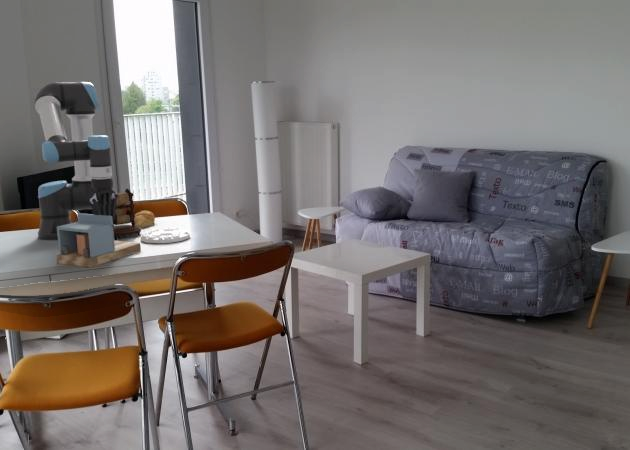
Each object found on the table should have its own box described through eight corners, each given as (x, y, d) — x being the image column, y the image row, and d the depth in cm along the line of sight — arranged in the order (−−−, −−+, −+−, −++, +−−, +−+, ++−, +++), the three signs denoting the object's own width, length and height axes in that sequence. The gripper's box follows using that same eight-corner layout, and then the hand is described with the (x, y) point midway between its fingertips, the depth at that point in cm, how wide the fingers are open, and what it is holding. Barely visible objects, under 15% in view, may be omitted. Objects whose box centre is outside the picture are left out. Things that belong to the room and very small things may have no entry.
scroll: (132, 230, 281) (128, 185, 277) (147, 235, 270) (144, 189, 266) (99, 235, 271) (95, 189, 267) (114, 241, 260) (110, 193, 256)
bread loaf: (145, 236, 284) (153, 221, 283) (125, 227, 283) (132, 211, 281) (155, 226, 305) (161, 211, 303) (135, 217, 303) (142, 202, 302)
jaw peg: (87, 259, 232) (85, 232, 230) (95, 260, 230) (93, 233, 228) (78, 261, 228) (76, 234, 226) (86, 262, 226) (84, 235, 224)
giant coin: (178, 245, 252) (177, 238, 251) (132, 244, 256) (131, 237, 255) (196, 234, 271) (196, 228, 271) (154, 233, 275) (153, 226, 274)
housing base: (56, 262, 227) (55, 246, 226) (109, 247, 250) (108, 232, 248) (90, 267, 220) (88, 250, 219) (140, 250, 243) (139, 235, 242)
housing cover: (59, 253, 227) (55, 218, 225) (82, 246, 237) (79, 213, 235) (92, 257, 221) (89, 221, 218) (115, 250, 230) (112, 216, 228)
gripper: (96, 180, 225) (102, 244, 230) (122, 176, 237) (126, 237, 241) (80, 179, 228) (86, 243, 233) (106, 175, 240) (111, 235, 245)
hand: (107, 240), depth 237 cm, fingers closed
